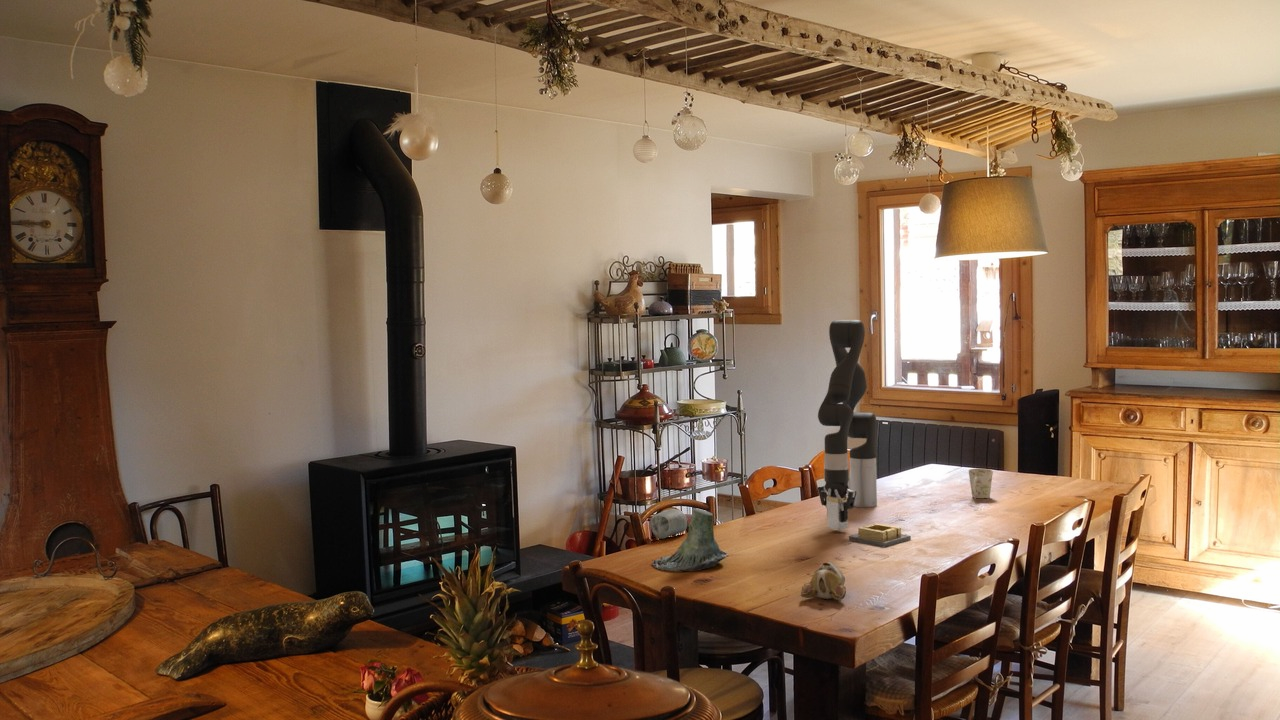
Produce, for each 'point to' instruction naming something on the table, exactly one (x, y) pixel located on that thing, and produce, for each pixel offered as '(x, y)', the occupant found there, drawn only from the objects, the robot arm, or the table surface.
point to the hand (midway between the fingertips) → (837, 520)
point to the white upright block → (834, 514)
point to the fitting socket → (880, 535)
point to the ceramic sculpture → (826, 583)
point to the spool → (668, 523)
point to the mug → (980, 482)
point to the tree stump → (695, 546)
